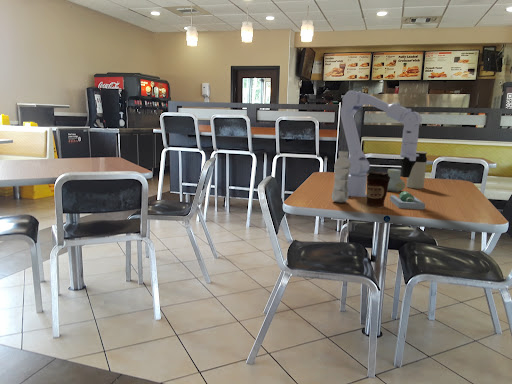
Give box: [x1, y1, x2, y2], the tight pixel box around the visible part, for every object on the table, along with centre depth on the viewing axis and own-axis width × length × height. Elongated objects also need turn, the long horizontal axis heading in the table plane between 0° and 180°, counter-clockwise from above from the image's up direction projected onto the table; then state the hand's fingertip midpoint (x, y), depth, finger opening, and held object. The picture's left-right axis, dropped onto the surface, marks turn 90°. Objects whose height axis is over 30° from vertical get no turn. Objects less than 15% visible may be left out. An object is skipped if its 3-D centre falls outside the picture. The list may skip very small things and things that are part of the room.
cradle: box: [389, 194, 426, 210], centre depth 155 cm, size 9×14×2 cm
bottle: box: [398, 190, 415, 202], centre depth 156 cm, size 4×4×9 cm
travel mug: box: [405, 150, 428, 190], centre depth 197 cm, size 8×8×18 cm
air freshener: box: [386, 168, 406, 193], centre depth 186 cm, size 11×8×10 cm
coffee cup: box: [366, 171, 390, 208], centre depth 150 cm, size 9×8×13 cm
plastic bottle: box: [331, 150, 351, 203], centre depth 154 cm, size 6×7×20 cm
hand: (405, 177), depth 159 cm, fingers closed
